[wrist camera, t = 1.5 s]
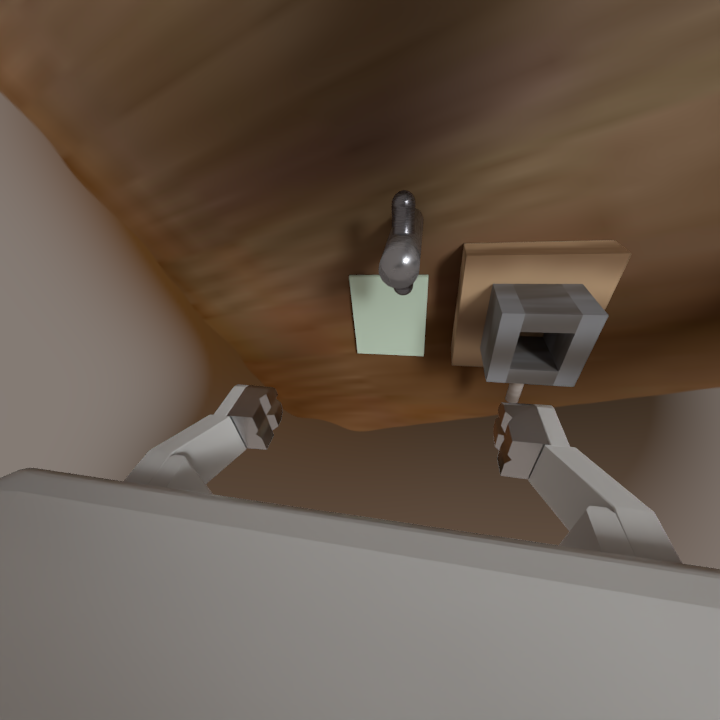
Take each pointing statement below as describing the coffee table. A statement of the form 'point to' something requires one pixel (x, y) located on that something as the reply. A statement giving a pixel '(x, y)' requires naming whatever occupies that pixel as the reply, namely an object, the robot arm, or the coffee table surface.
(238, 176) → the coffee table surface
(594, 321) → the block
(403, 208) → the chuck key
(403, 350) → the mat
